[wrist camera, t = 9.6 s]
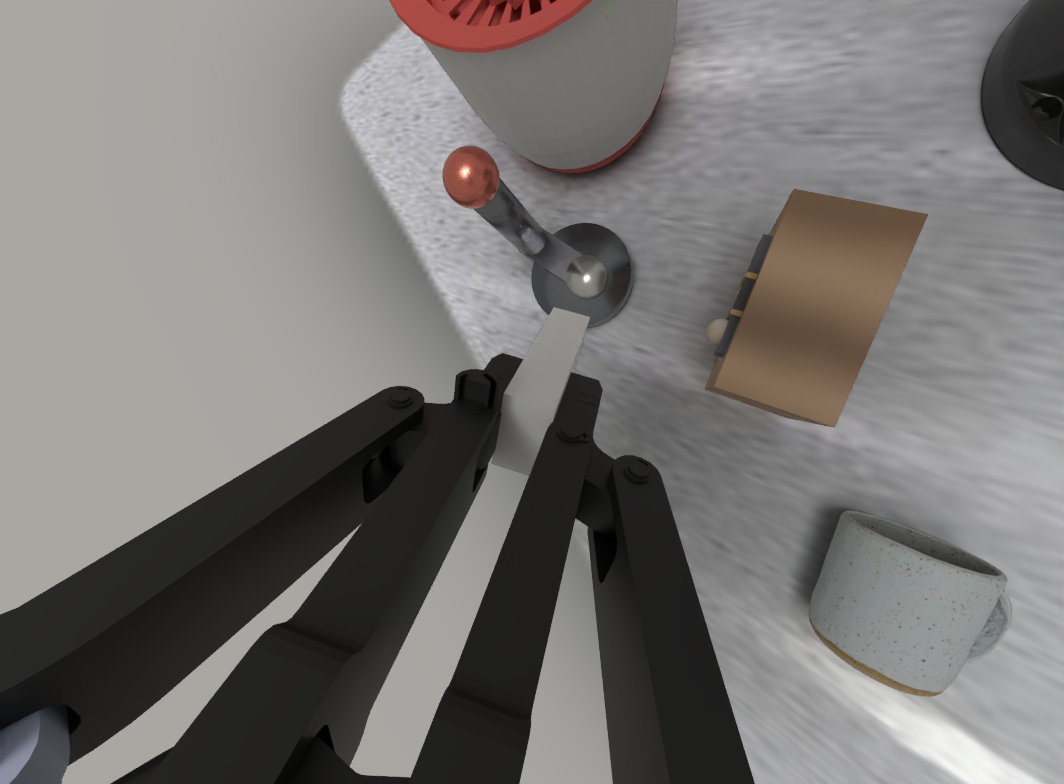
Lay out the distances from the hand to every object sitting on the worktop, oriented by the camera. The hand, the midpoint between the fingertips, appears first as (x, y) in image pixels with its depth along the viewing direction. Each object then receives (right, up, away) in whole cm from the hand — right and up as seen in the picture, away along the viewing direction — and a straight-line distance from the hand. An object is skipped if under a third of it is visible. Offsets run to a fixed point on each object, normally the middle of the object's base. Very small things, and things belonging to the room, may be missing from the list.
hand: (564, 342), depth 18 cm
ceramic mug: (+23, -15, +12) cm, 30 cm away
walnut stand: (+16, +2, +14) cm, 22 cm away
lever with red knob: (+2, +8, +19) cm, 20 cm away
